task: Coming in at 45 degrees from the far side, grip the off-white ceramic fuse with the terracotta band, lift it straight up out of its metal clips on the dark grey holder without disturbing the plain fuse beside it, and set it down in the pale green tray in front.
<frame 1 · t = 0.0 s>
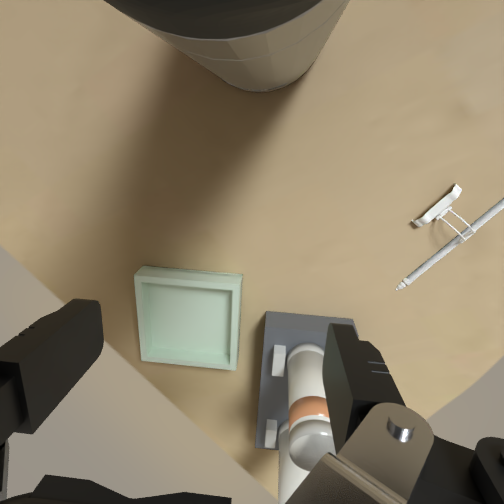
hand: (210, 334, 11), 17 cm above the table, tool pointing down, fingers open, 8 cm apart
plain fuse: (296, 431, 33), point 2 cm above the table, touching fuse holder
tray: (192, 313, 32), on the table
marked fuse: (307, 359, 29), point 2 cm above the table, touching fuse holder
picture light: (446, 217, 27), on the table
fuse holder: (300, 377, 33), on the table
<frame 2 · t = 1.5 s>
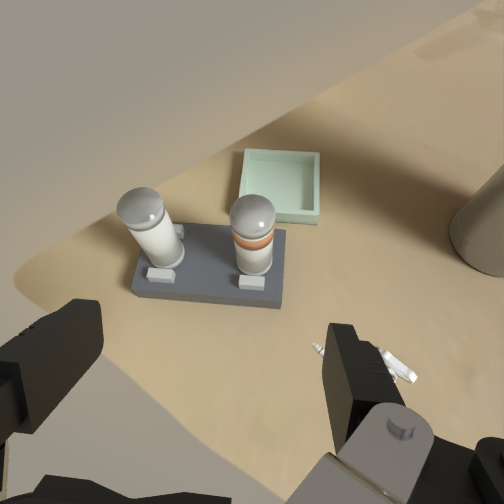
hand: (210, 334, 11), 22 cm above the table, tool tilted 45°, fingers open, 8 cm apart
plain fuse: (168, 255, 34), point 2 cm above the table, touching fuse holder
tray: (279, 190, 41), on the table
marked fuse: (254, 261, 34), point 2 cm above the table, touching fuse holder
picture light: (382, 381, 31), on the table
fuse holder: (214, 268, 36), on the table
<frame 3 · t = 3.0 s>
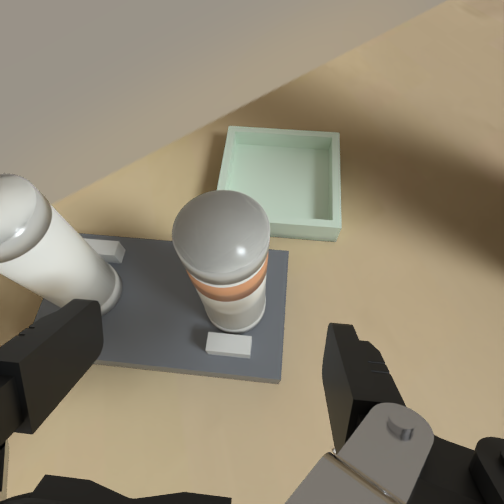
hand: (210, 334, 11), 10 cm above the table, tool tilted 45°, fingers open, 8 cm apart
plain fuse: (93, 291, 21), point 2 cm above the table, touching fuse holder
tray: (278, 188, 27), on the table
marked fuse: (235, 304, 20), point 2 cm above the table, touching fuse holder
fuse holder: (173, 310, 23), on the table
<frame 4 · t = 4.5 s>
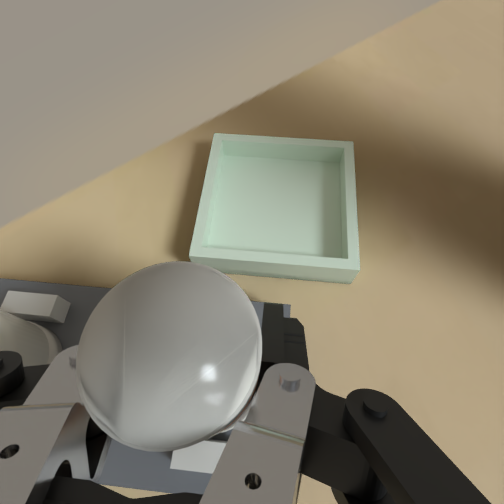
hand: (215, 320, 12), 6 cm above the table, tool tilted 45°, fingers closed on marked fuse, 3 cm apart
plain fuse: (22, 365, 15), point 2 cm above the table, touching fuse holder
tray: (276, 212, 22), on the table
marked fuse: (217, 385, 14), point 3 cm above the table, touching fuse holder, gripper
fuse holder: (136, 381, 17), on the table
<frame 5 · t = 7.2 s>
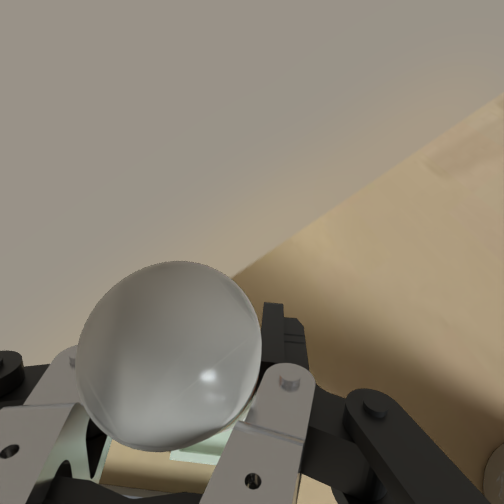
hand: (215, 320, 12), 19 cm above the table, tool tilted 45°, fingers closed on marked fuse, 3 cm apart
tray: (238, 401, 29), on the table
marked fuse: (218, 385, 14), point 16 cm above the table, touching gripper
when the fingers open (6 cm above the table, at t = 9.9 s): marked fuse drops 2 cm, resting on tray.
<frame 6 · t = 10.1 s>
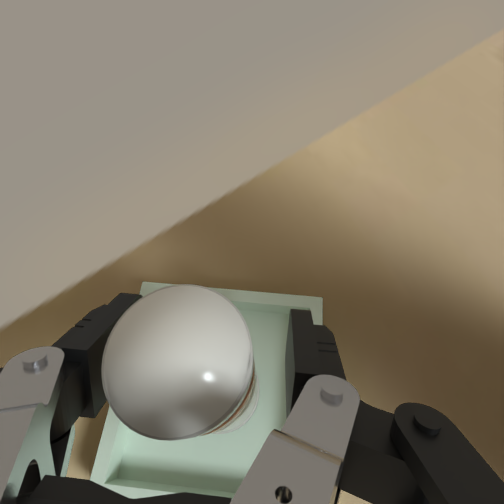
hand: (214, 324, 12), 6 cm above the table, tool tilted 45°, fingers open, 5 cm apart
tray: (222, 390, 16), on the table
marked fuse: (222, 390, 16), point 1 cm above the table, touching tray
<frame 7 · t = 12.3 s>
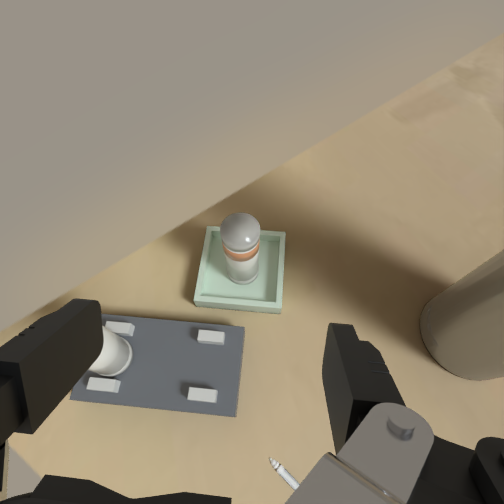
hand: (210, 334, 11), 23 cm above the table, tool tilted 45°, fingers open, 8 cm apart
plain fuse: (114, 357, 31), point 2 cm above the table, touching fuse holder
tray: (242, 271, 38), on the table
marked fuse: (242, 270, 38), point 1 cm above the table, touching tray
picture light: (343, 502, 29), on the table
fuse holder: (167, 365, 33), on the table
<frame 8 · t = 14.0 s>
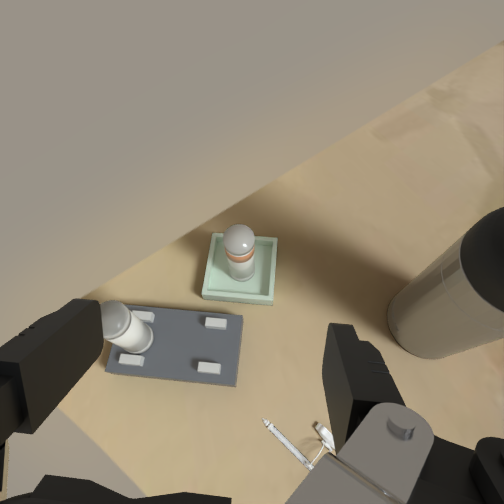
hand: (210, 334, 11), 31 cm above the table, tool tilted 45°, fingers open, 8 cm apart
plain fuse: (139, 338, 39), point 2 cm above the table, touching fuse holder
tray: (241, 270, 46), on the table
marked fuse: (242, 269, 45), point 1 cm above the table, touching tray
picture light: (320, 452, 37), on the table
fuse holder: (180, 346, 41), on the table
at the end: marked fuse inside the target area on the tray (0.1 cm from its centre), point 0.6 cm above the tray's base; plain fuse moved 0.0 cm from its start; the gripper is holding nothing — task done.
